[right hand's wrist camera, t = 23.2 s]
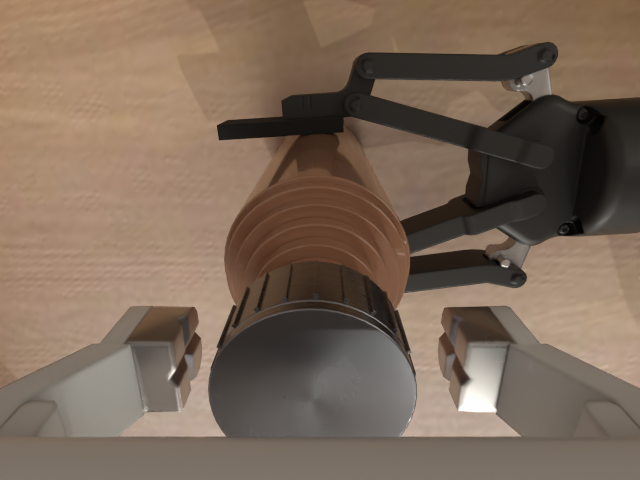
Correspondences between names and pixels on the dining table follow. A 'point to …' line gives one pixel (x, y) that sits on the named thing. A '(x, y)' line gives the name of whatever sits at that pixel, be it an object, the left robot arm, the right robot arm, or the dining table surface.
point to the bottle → (318, 216)
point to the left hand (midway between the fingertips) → (233, 191)
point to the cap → (313, 358)
